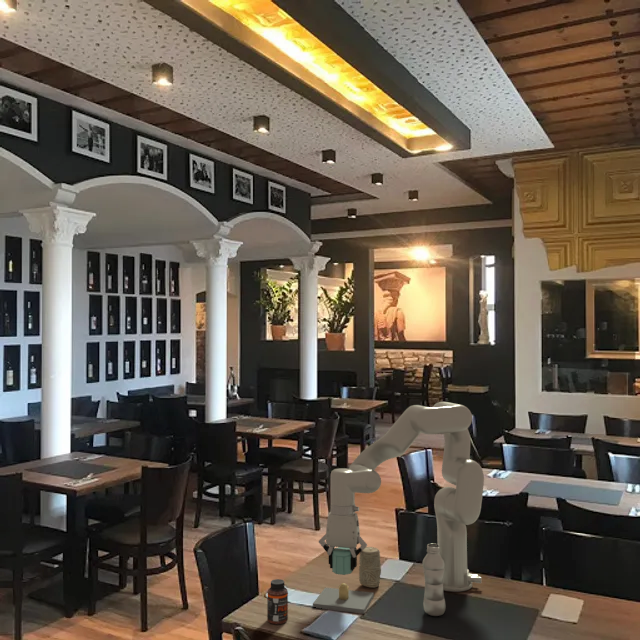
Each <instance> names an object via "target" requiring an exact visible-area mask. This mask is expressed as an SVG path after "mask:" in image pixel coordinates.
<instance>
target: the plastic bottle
mask: <svg viewBox="0 0 640 640" xmlns="http://www.w3.org/2000/svg"><path fill="white" fill-rule="evenodd" d="M426 548H427V549H426V552H427V553H426V555H425V556H424V558H423V560H422V570H423V575H424V595H423V596H424V597H423V601H422V602H423V603H422V605H423V611H424V612H425V613H426V614H427V615H430V616H433V617H438V616H439V617H441V616H442V615H444V613H445V611H446V607H447V606H446V599H445V595H444V594H445V593H444V590H443V575H444V561H443V559H442V557H441V556H440V555H439V553H440V546H439V545H438V543H428V544H427V545H426Z"/></svg>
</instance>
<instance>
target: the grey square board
mask: <svg viewBox="0 0 640 640" xmlns="http://www.w3.org/2000/svg"><path fill="white" fill-rule="evenodd" d="M349 587H350V586H349V585H348V584H347V583H345V582H342V583H341V584H340V585H339V586H338V588H332V587H324V589H323V590H322V591H321V592H320V594H318V596H317V597H316V598H315V600H314V601H313V603H312V608H313V607H316V608H315V609H321V608H322V609H323V610H332V611H340V612H347V613H354V614H355V613H356V614H365V612H366V611H367V610H368V608H369V606H370V604H371V602H372V601H373V599H374V597H375V596H374V595H375V594H374V593H375V592H370V591H359V590H354V589H353V590H350V589H349Z"/></svg>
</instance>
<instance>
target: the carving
mask: <svg viewBox="0 0 640 640" xmlns="http://www.w3.org/2000/svg"><path fill="white" fill-rule="evenodd" d="M380 553H381V551H380V549H379V548H378V547H373V546H367V547H366V548H365V549H364V550H362V551H361V552H360V553H359V569H358V571H359V572H358V578H359V583H360V585H362V586H364V587H367V588H377V587H379V586H380V582H381V574H382V565H381V564H382V562H381V554H380Z"/></svg>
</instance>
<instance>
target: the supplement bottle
mask: <svg viewBox="0 0 640 640" xmlns="http://www.w3.org/2000/svg"><path fill="white" fill-rule="evenodd" d="M285 586H286V585H285V581H284V579H280V578H279V579H277V578H276V579H272V580H271V581H270V587H269V588H268V589H267V593H266V594H267V595H266V596H267V601H266V603H267V608H266V609H267V622H268V623H269V624H272V625H276V626H277V625H283V624H285V623H287V622H288V619H289V618H288V617H289V605H288V604H289V598H288V597H289V595H288V594H289V593H288V592H289V591H288V589H287V588H286V587H285Z"/></svg>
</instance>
